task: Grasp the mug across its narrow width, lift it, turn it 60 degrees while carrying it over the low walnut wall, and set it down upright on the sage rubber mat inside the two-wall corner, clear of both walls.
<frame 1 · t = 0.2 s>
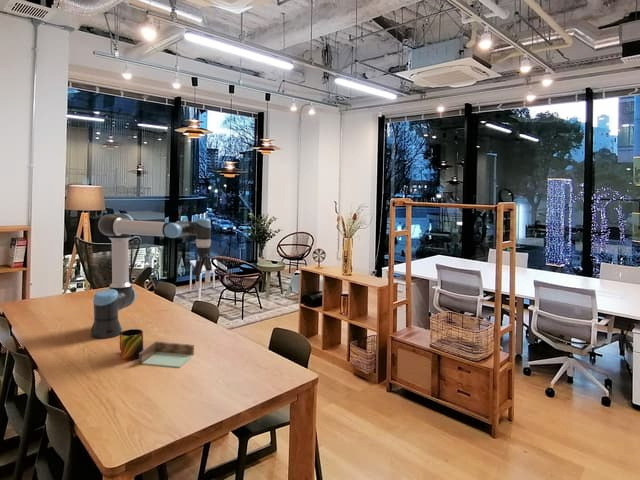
hand: (202, 284, 234), 28 cm above the table, fingers open, 13 cm apart
mug: (128, 356, 201), on the table
mat: (168, 360, 199), on the table
walls: (168, 360, 199), resting in mat
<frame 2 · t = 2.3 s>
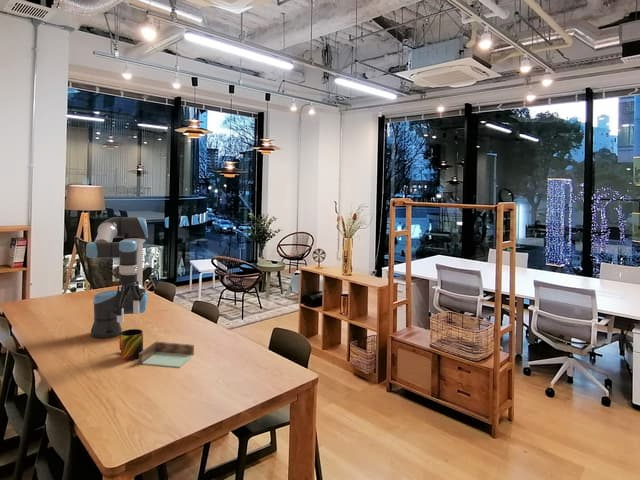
hand: (128, 317, 199), 19 cm above the table, fingers open, 13 cm apart
nothing on the table moved.
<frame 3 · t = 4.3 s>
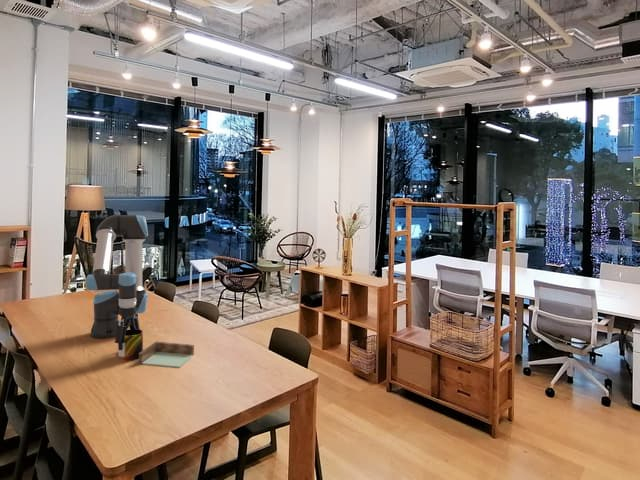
hand: (128, 351, 200), 2 cm above the table, fingers closed on mug, 10 cm apart
mug: (127, 356, 201), on the table, touching gripper
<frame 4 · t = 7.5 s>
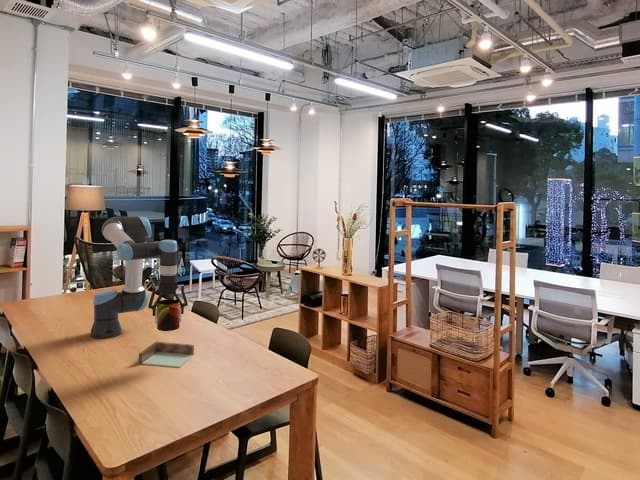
hand: (168, 321, 194), 19 cm above the table, fingers closed on mug, 10 cm apart
mug: (168, 326, 195), point 17 cm above the table, touching gripper
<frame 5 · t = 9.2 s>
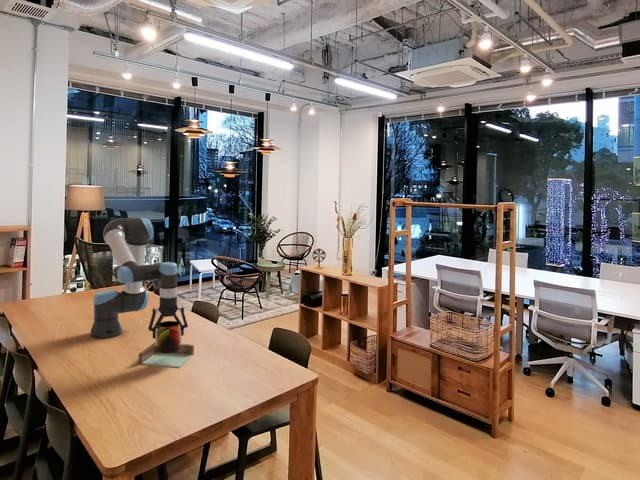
hand: (168, 343, 195), 9 cm above the table, fingers closed on mug, 10 cm apart
mug: (168, 348, 196), point 7 cm above the table, touching gripper
when the fingers open (4 cm above the table, at t = 10.7 s): mug drops 1 cm, resting on mat.
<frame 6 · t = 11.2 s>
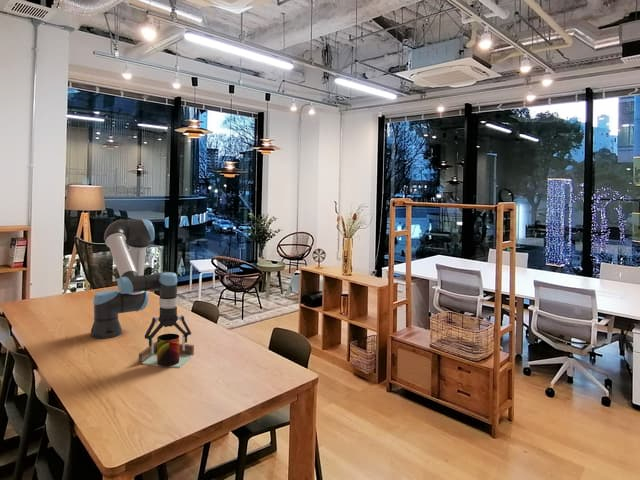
hand: (168, 351, 196), 5 cm above the table, fingers open, 13 cm apart
mug: (168, 360, 197), resting on mat
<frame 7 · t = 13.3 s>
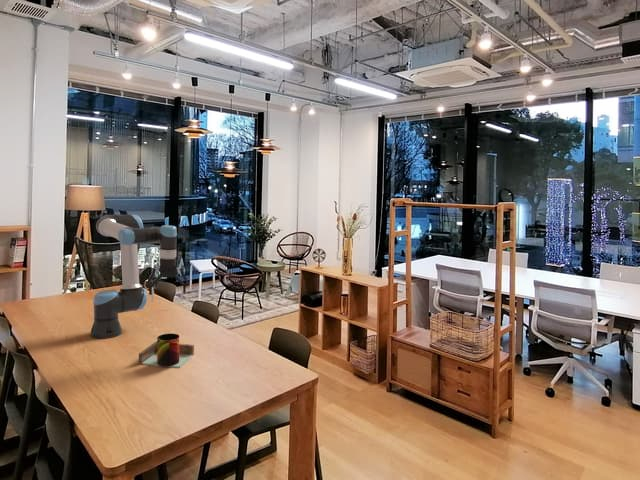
hand: (167, 300, 206), 26 cm above the table, fingers open, 13 cm apart
nothing on the table moved.
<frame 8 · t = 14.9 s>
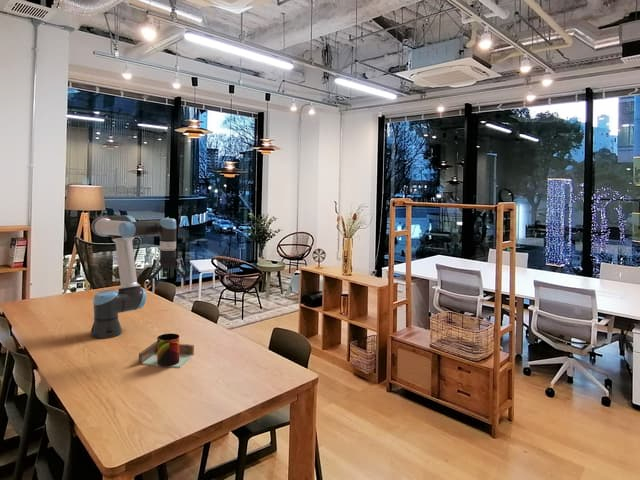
hand: (168, 291, 212), 29 cm above the table, fingers open, 13 cm apart
nothing on the table moved.
at the end: mug inside the target area (0.3 cm from its centre), resting on mat; mug tilted 0°; mug touching mat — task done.
